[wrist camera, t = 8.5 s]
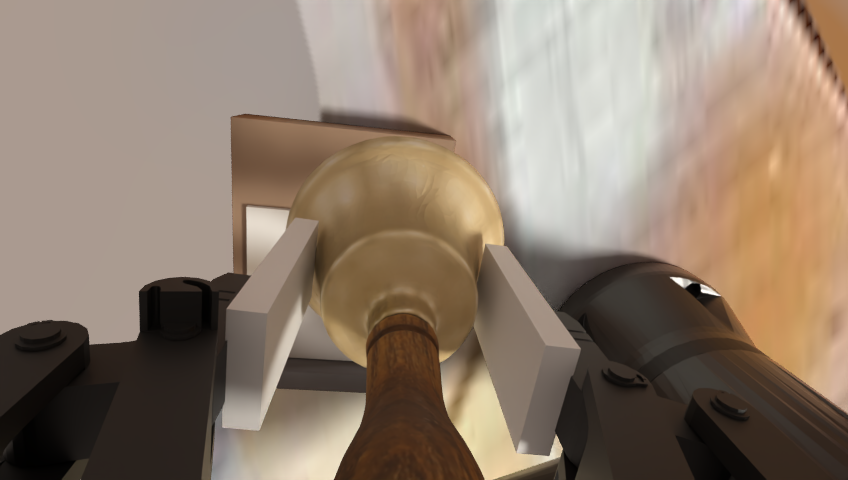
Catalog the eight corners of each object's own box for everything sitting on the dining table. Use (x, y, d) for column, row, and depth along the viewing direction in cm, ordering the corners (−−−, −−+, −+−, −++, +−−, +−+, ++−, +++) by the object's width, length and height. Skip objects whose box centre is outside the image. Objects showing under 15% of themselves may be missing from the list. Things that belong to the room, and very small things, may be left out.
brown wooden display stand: (245, 113, 31) (219, 119, 27) (450, 135, 33) (460, 144, 28) (247, 347, 37) (226, 385, 32) (422, 357, 38) (426, 396, 34)
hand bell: (546, 244, 18) (1304, 1015, 3) (397, 377, 20) (411, 1347, 4) (396, 84, 16) (450, 18, 1) (240, 246, 17) (-760, 1281, 2)
